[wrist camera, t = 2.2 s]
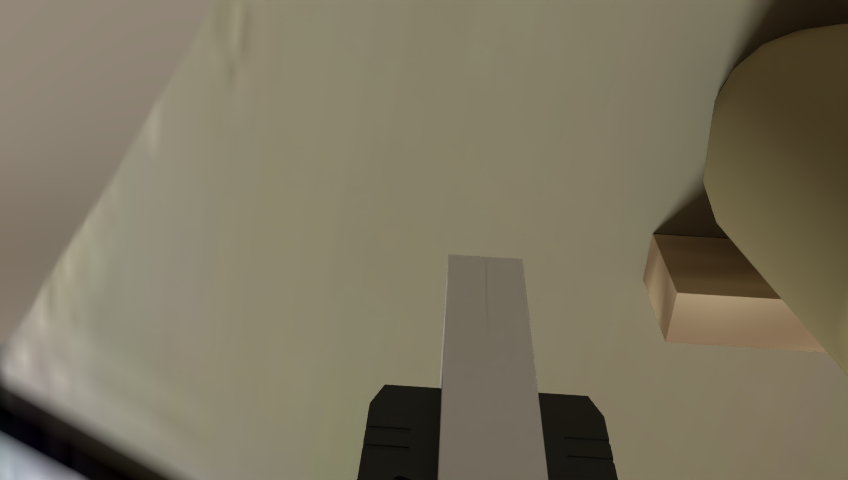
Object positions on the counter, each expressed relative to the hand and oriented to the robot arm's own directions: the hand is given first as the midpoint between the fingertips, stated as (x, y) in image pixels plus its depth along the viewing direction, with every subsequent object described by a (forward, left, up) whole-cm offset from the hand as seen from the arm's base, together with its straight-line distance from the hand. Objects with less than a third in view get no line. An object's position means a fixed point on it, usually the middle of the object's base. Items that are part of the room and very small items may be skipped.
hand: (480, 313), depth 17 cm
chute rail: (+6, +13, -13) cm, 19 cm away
